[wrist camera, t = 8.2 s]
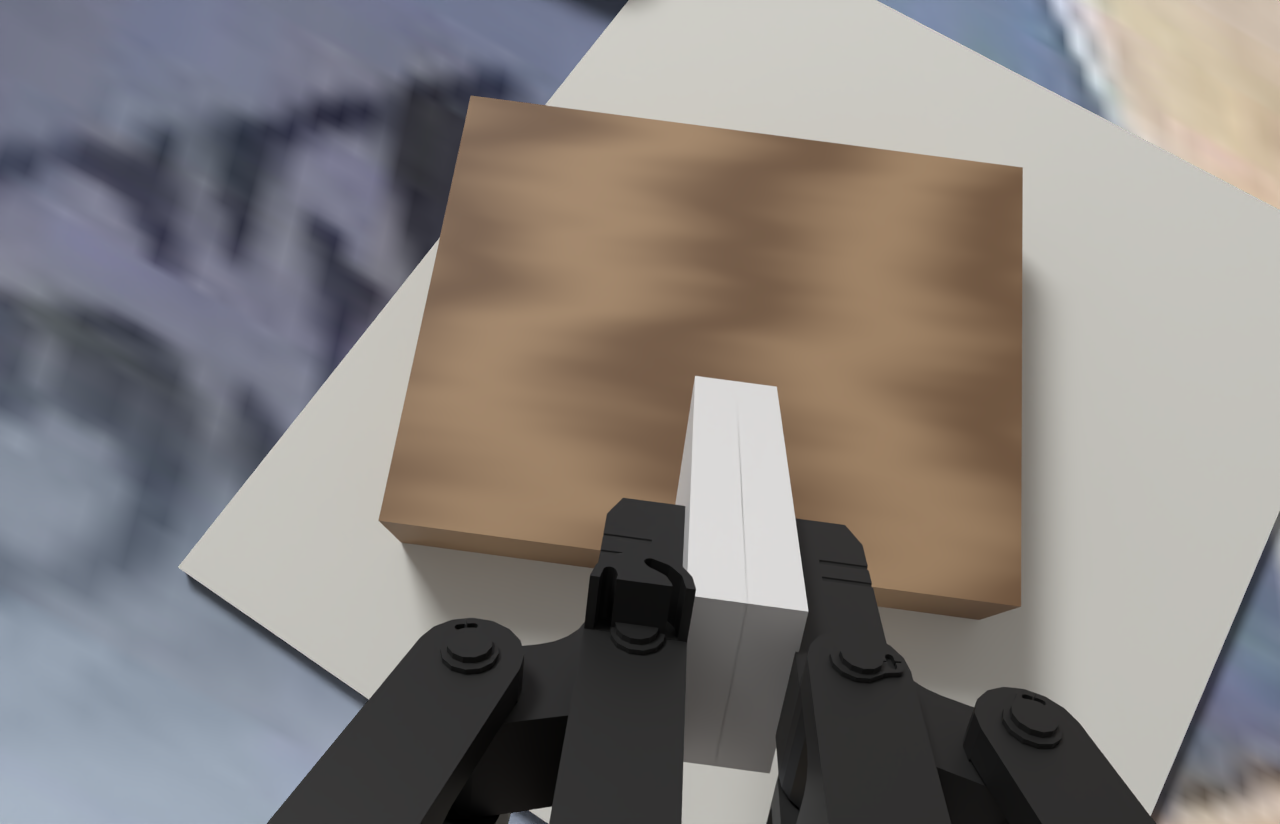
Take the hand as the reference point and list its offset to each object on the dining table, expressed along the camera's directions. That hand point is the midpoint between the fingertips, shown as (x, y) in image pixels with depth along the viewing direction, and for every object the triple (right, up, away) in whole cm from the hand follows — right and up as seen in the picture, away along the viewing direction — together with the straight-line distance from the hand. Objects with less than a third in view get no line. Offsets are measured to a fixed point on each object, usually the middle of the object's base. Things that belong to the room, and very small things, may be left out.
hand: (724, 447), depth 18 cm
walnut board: (0, -3, +4) cm, 5 cm away
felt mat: (+3, +1, +7) cm, 8 cm away
